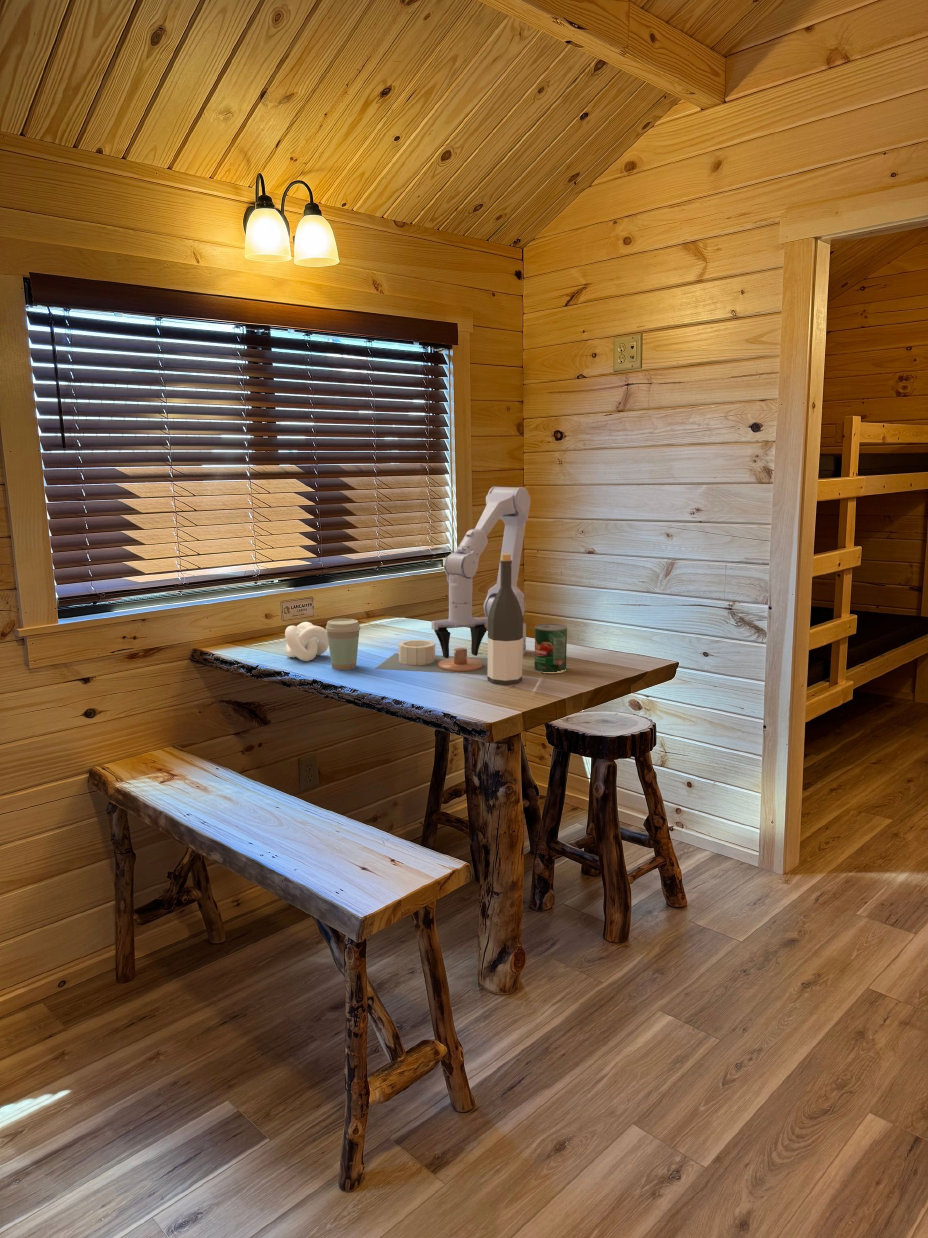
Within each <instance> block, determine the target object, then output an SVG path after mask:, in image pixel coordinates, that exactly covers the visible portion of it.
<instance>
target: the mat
mask: <svg viewBox="0 0 928 1238" xmlns="http://www.w3.org/2000/svg"><path fill="white" fill-rule="evenodd" d="M451 658H454V655H449V658H445V657H443V655H438V654H437V655H436V654H435V662H433V663H431V664H427V665H406V664H402V663H400V662H399V652H398V653H397V652H395V653H394V654H392V655H390V656H389V657H388V658H387V659H385V660H384V661H383V662H381V663H380V664H378V665H377V666H376V667H375V670H390V671H392V670H393V671H406V672H407V671H408V672H426V673H440V674H441V673H443V674H444V673H445V674H461V675H479V676H488V657H478V656H477V657H476V656H474V657H473V656H472V657H471V656H467V658H470V659H476V660H479V661H481V662H482V663H483V667H482V668H481V669H478V670H474V671H466V672H455V671H447V670H443V669H440V668H439V667H438V663H439V662H440V661H442V660H445V659H451Z"/></svg>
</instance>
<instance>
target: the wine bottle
mask: <svg viewBox="0 0 928 1238" xmlns="http://www.w3.org/2000/svg"><path fill="white" fill-rule="evenodd" d="M500 563H501V586H500V589H499V591H498V593H497V595H496V597H495V598H494V600H493V603H492V605H491V608H490V611H489V616H488V617H487V618H488V626H487V653H488V655H487V658H488V674H487V682H489V683H491V684H493V685H500V686H509V685H510V686H511V685H518V684H520V682H521V683H522V681H523V657H524V655H523V623H524V615H522V611H521V607H520V604H519V602H518V600H517V598H516V596H515V594H514V592H513V590H512V588H511V566H512V561H511V554H502V560H501V561H500V560H499V564H500Z"/></svg>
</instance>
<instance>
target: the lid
mask: <svg viewBox="0 0 928 1238" xmlns="http://www.w3.org/2000/svg"><path fill="white" fill-rule="evenodd" d="M453 656H454V658H451V659H445V660H442V661H440V662H439V663H438V667H439V668H440V669H443V670H447V671H455V672H466V671H474V670H478V669H481V668H482V667H483V663H482V662H481V661H479V660H476V659H470V658H467V657H468V649H467V648H465V647H456V648H454V649H453Z"/></svg>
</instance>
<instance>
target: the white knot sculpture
mask: <svg viewBox="0 0 928 1238" xmlns="http://www.w3.org/2000/svg"><path fill="white" fill-rule="evenodd" d="M325 629H326V628H324V627H322V626H318V625H314V624H313V623H312V622H309V621H303V622H300V623H299V624H298V625H289V626H287V627H286V629H285V631H284V638H285V640H286V647H285V653H286V655H287V657H288V658H290V657H293V658H292V659H295V658H294V657H296V658H298V659H299V660H301V661H304V662H310V660H311V661H312V660H314V659H315V658H316V657H317V656H316V655H318V656H321V655H323V654H325V653H326V652H327V650H328V648H329V643H328V636H327V631H326V630H325Z"/></svg>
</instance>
